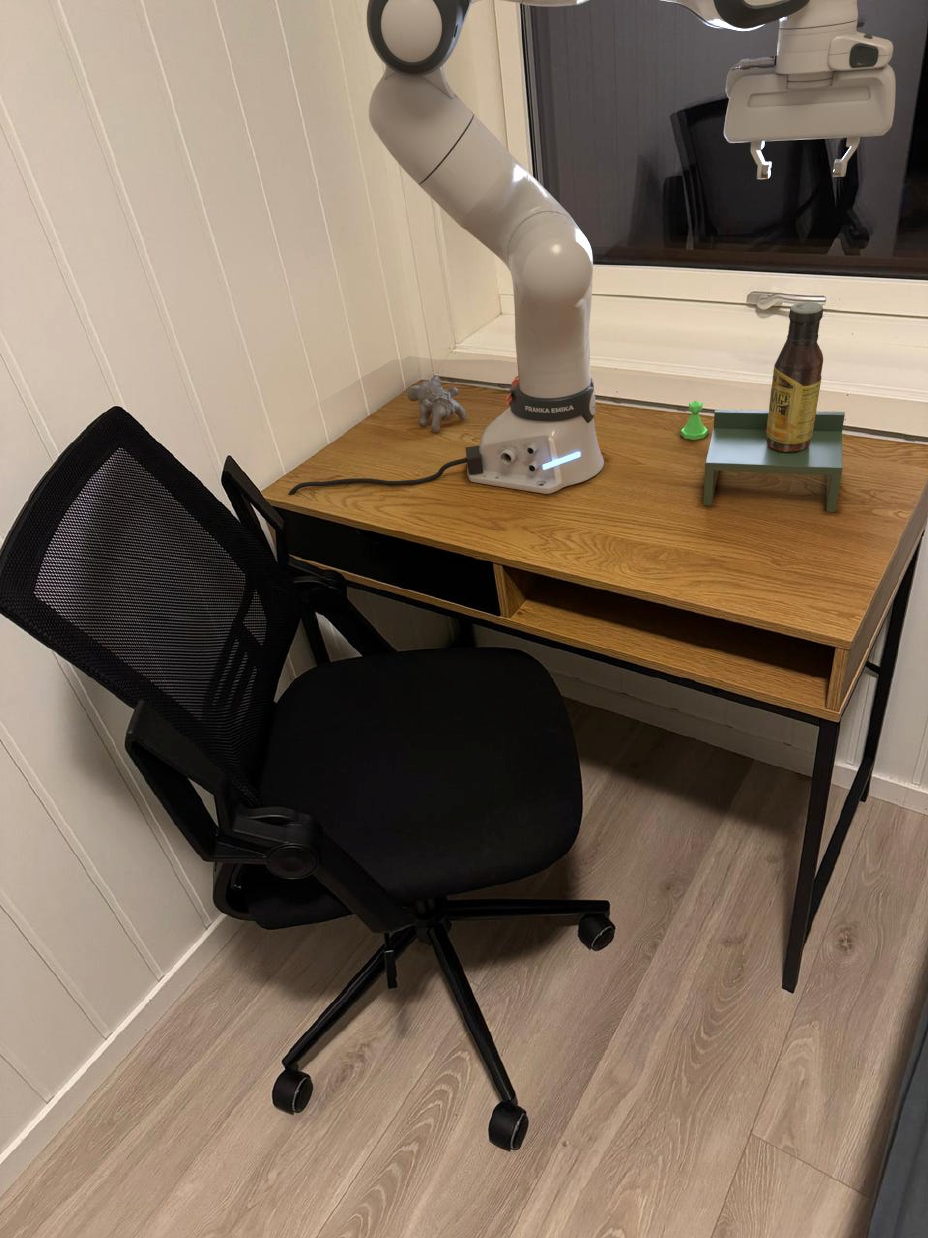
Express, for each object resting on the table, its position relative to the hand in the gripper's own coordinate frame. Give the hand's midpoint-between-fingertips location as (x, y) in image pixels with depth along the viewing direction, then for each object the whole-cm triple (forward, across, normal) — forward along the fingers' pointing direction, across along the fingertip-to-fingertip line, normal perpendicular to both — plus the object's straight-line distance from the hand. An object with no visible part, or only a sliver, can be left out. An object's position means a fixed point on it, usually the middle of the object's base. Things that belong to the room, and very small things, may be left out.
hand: (800, 176), depth 113 cm
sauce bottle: (+33, +4, -12) cm, 35 cm away
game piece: (+40, -13, +3) cm, 42 cm away
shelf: (+40, +2, -13) cm, 42 cm away
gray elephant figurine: (+40, -60, 0) cm, 73 cm away
